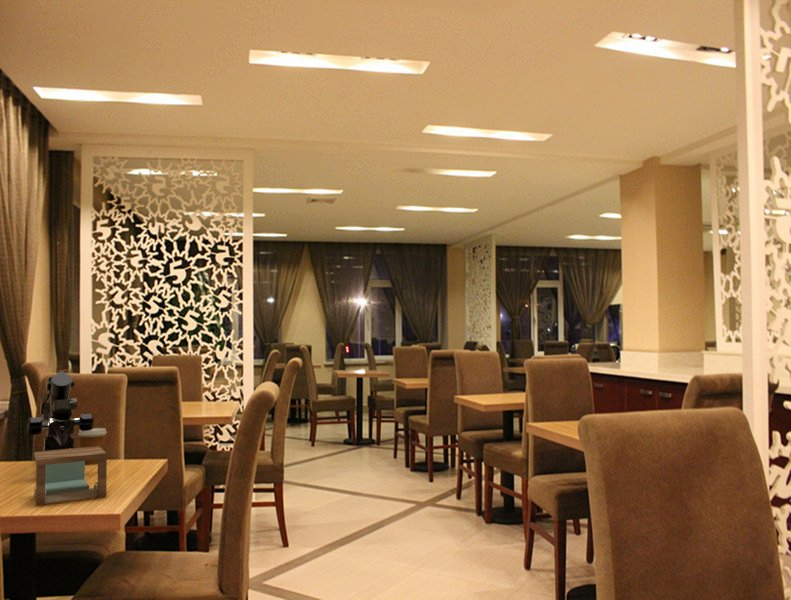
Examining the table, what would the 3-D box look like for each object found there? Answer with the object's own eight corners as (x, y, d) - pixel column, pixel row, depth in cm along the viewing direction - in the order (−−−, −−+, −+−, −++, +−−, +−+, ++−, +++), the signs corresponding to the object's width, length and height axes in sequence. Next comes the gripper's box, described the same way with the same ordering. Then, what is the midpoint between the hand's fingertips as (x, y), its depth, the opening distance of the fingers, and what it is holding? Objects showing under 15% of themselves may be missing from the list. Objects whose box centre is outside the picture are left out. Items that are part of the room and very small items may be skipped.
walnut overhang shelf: (33, 495, 188) (34, 452, 188) (99, 487, 196) (99, 446, 197) (36, 506, 174) (37, 459, 175) (106, 497, 183) (106, 453, 183)
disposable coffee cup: (79, 466, 232) (79, 431, 233) (76, 462, 240) (76, 429, 241) (108, 463, 237) (109, 429, 238) (104, 459, 245) (104, 427, 246)
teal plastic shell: (43, 487, 198) (43, 457, 199) (84, 483, 204) (84, 453, 204) (46, 496, 186) (46, 463, 187) (89, 491, 192) (89, 459, 192)
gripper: (28, 391, 209) (29, 431, 199) (93, 388, 218) (97, 426, 208) (27, 415, 215) (28, 454, 205) (90, 411, 225) (94, 448, 215)
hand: (62, 445), depth 208 cm, fingers closed
